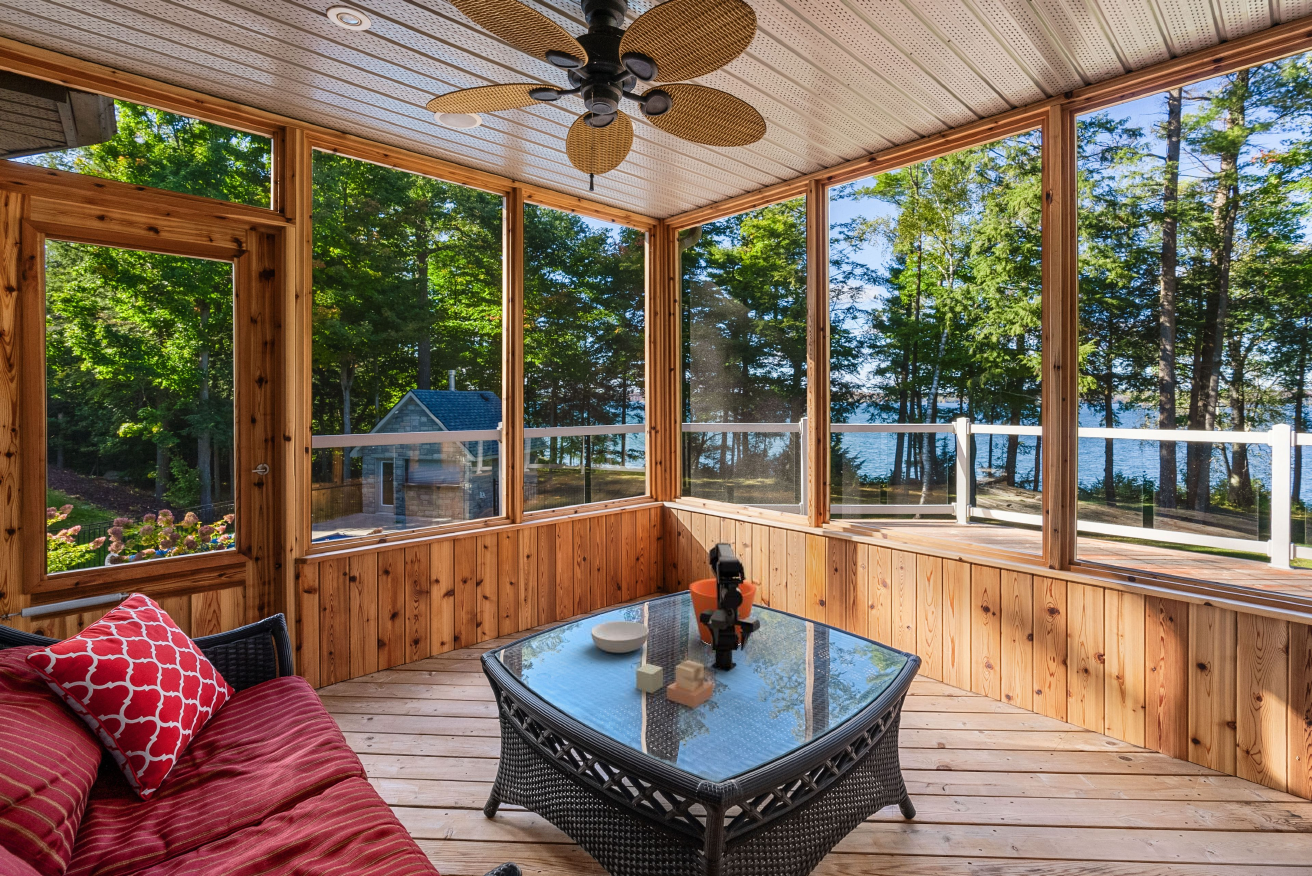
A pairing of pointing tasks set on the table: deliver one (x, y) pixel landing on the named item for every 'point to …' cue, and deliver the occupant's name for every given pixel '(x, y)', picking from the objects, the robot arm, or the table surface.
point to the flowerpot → (707, 599)
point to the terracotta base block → (690, 694)
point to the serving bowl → (619, 636)
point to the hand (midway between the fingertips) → (729, 647)
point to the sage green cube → (649, 678)
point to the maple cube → (689, 675)
